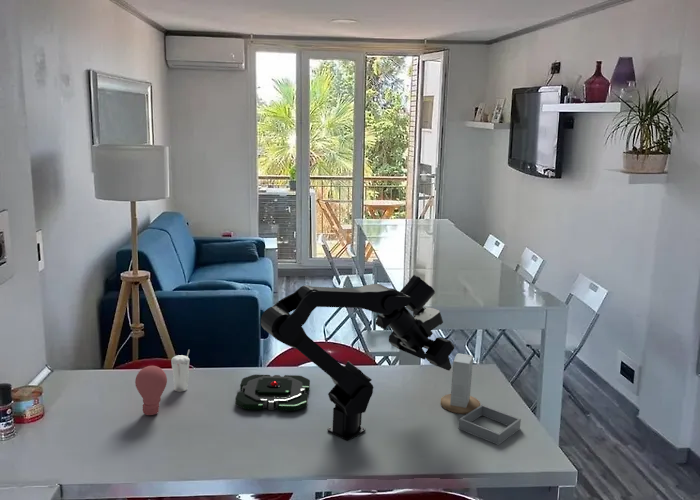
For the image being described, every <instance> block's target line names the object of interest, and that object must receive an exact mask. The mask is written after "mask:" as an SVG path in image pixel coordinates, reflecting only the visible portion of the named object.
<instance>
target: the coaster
mask: <svg viewBox="0 0 700 500" xmlns="http://www.w3.org/2000/svg"><path fill="white" fill-rule="evenodd" d="M450 401H451V393H448V394H445V395H443V396H442V397H440V406H441V407H442V408H443V409H444V410H446V411H448V412H450V413H454V414H458V415H459V414H460V415H466V414H468V413H469V412H471V411H472V410H474V409H476V408H477V407H479V406H481V402H480V401H479V399H477V398H476V397H474V396H472V395H470V399H469V402H468V405H467V407H466V408H463V407H457V406H451V405H450Z"/></svg>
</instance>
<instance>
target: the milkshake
mask: <svg viewBox="0 0 700 500" xmlns="http://www.w3.org/2000/svg"><path fill="white" fill-rule="evenodd" d="M190 351H191V350H190V349H188V350H187V354H186V355H183V354H181V355H179V354H178V355H177V354H176V355H175V356H173V357H172V358H171V360H170V361H171V363H170V364H171V369H172V378H173V379H172V380H173V389H174V391H176V392H178V393H180V392H185V391H187V390H188V388H189V386H188V385H189V371H190V358H189V354H190Z"/></svg>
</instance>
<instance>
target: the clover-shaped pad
mask: <svg viewBox="0 0 700 500" xmlns="http://www.w3.org/2000/svg"><path fill="white" fill-rule="evenodd" d="M239 389H240V390H241V391H238V392H236V396H235V399H234V401H235V405H236V406H237V407H239V408H241V409H243V410H246V411H247V410H250V411H251V410H252V411H253V410H254V411H255V410H257V411H262V410H263V409H267V410H268V411H274V410H275V409H277V410H278V411H287V412H288V411H291V412H292V411H293V412H294V411H298V410H300V409H303V408H305V407H307V406H308V403H309V402H308V401H309V394H308V393H307V392H309V391H310V390H311V380H310V379H309V378H307V377H305V376H302V375H300V374H299V375H296V374H295V375H293V374H292V375H291V374H290V375H288V374H285V375H283V376H281V375H279V374H274V375H270V374H251V375H248V376H246V377H244V378H241V381H240V386H239Z"/></svg>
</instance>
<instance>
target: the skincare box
mask: <svg viewBox="0 0 700 500" xmlns="http://www.w3.org/2000/svg"><path fill="white" fill-rule="evenodd" d="M473 363H474V355H470V354H465V353H464V354H463V353H456V355H455V357H454V360H453V361H452V372H451V373H452V377H451V388H450V389H451V390H450V394H451V401H450V405H451V406H457V407H463V408H466V407H467V405H468V402H469V399H470V396H471V389H472V388H471V387H472V379H473V378H472V376H473V375H472V374H473Z"/></svg>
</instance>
